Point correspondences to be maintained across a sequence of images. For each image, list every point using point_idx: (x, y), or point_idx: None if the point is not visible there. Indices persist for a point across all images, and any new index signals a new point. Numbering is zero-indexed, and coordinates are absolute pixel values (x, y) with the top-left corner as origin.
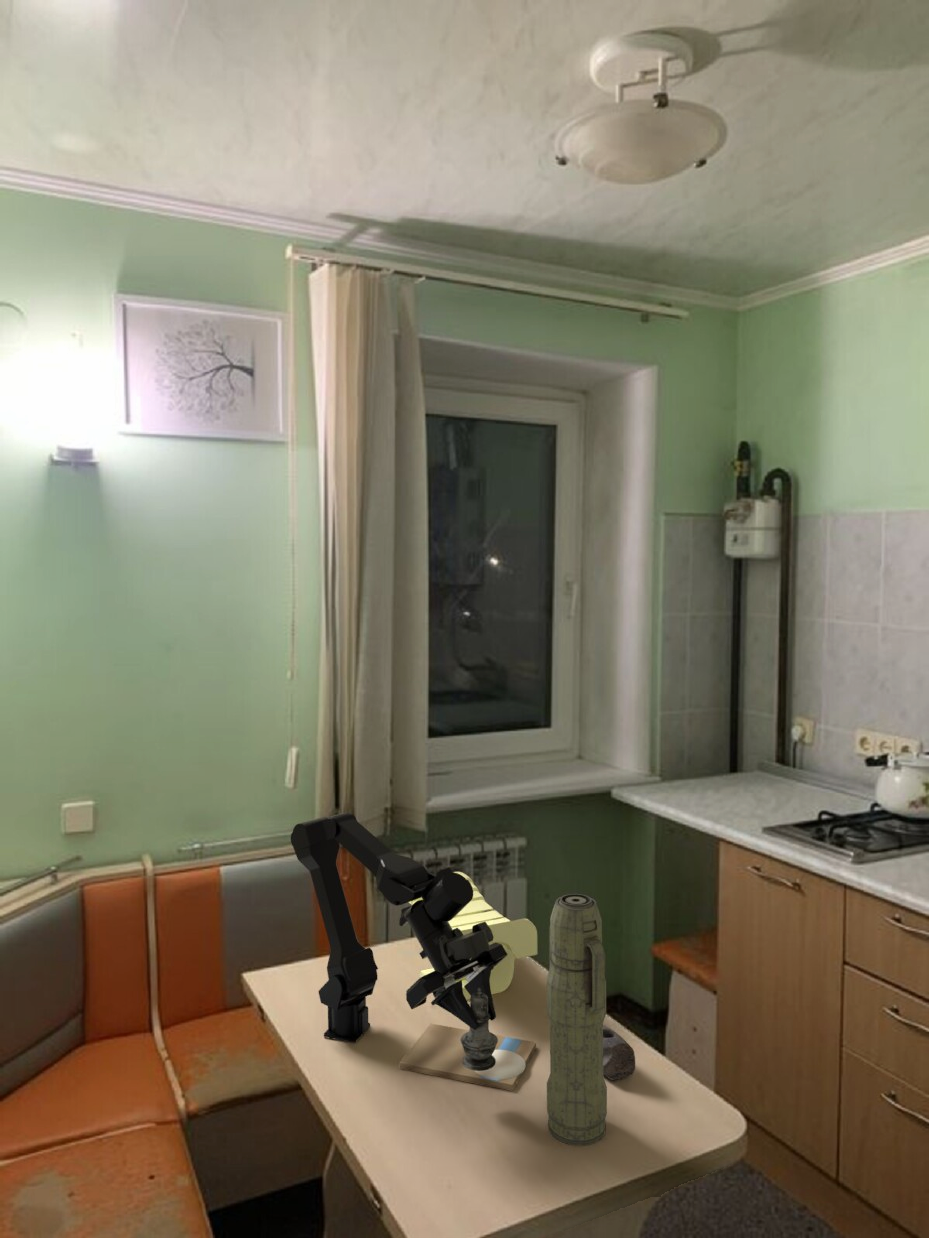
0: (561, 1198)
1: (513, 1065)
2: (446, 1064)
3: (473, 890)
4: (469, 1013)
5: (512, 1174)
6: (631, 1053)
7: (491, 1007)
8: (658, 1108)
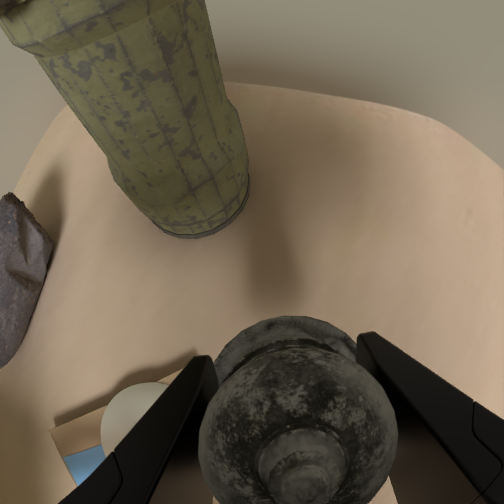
0: (342, 102)
1: (136, 415)
2: None
3: None
4: (433, 378)
5: (376, 168)
6: (14, 195)
7: (190, 392)
8: (79, 158)
